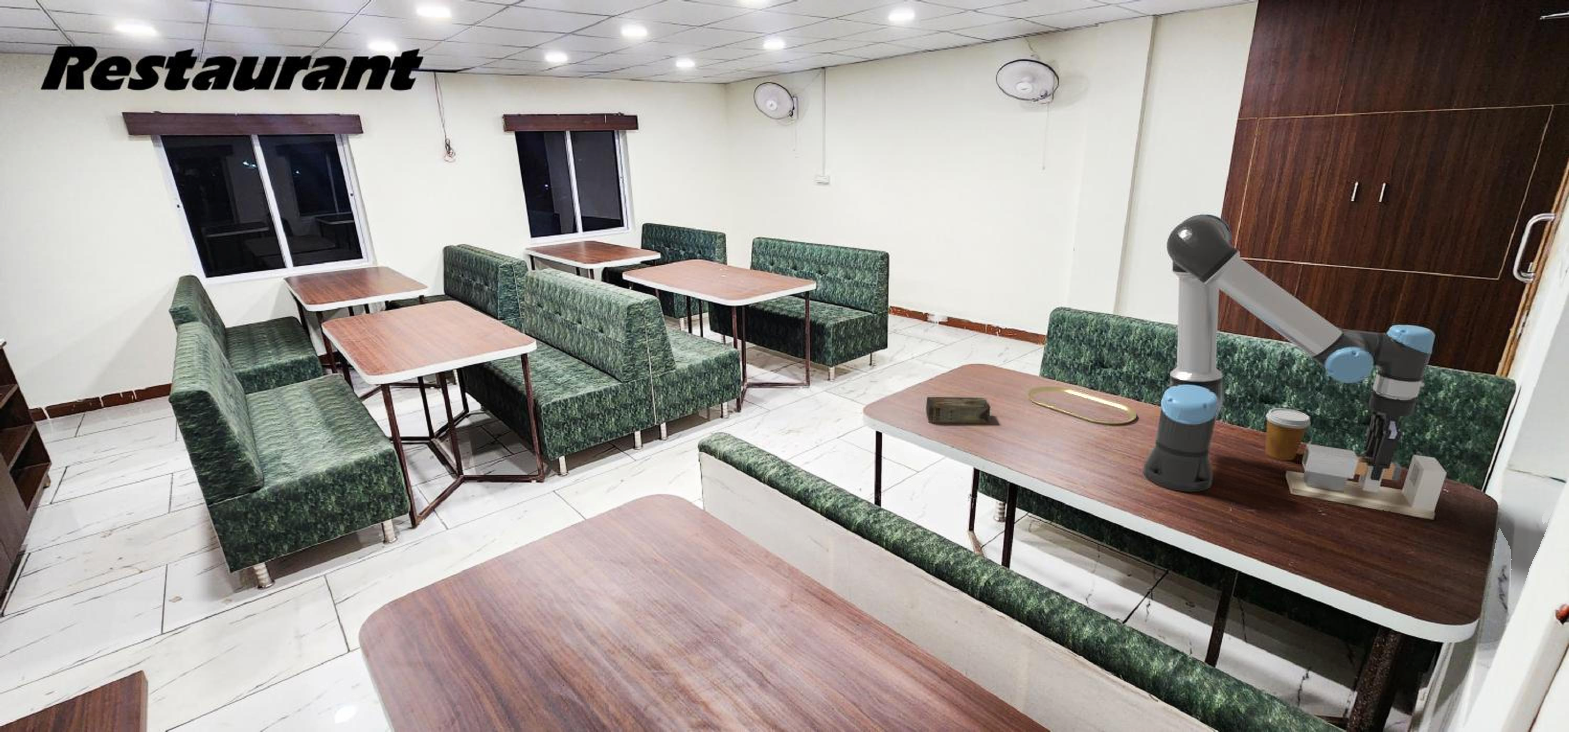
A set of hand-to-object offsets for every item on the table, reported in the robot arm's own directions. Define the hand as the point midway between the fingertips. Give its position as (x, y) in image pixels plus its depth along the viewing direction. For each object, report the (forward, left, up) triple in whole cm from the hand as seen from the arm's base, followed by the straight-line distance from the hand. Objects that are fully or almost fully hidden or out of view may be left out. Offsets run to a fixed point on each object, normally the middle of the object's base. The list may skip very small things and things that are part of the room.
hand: (1368, 486), depth 152 cm
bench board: (-2, 0, -3) cm, 4 cm away
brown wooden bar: (-3, 0, +3) cm, 5 cm away
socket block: (+9, 0, -2) cm, 9 cm away
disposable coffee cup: (-15, +18, -3) cm, 23 cm away
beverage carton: (-99, +6, -4) cm, 99 cm away
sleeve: (-8, 0, -2) cm, 8 cm away
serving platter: (-66, +32, -4) cm, 74 cm away
